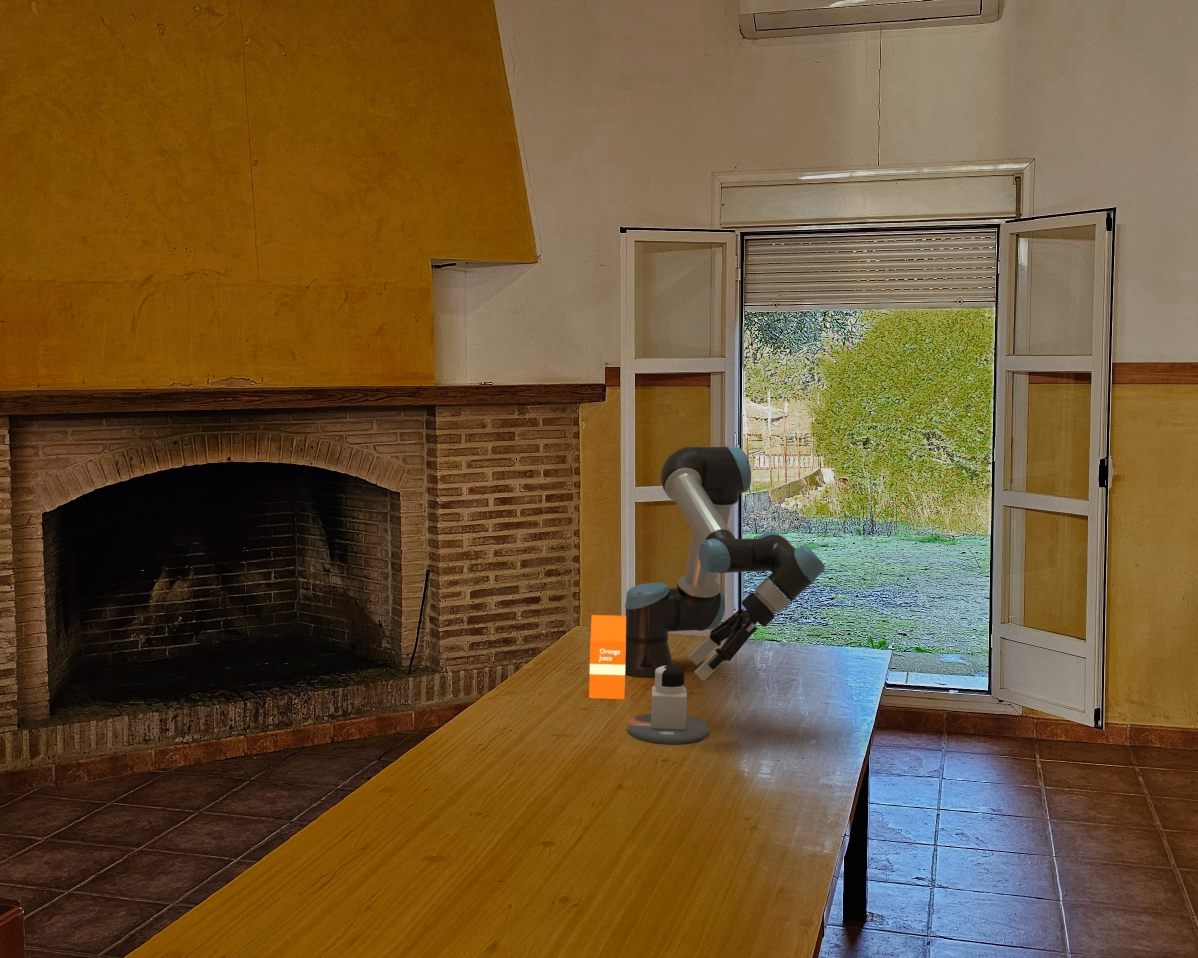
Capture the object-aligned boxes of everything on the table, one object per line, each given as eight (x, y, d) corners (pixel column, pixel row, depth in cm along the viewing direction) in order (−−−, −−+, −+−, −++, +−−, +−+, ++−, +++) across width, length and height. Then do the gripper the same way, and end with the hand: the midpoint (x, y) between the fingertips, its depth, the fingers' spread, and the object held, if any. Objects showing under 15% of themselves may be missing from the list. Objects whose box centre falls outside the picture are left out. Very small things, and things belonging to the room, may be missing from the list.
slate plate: (611, 730, 250) (611, 723, 250) (663, 714, 263) (663, 708, 263) (673, 749, 238) (673, 742, 238) (724, 732, 251) (724, 725, 251)
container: (685, 720, 254) (686, 663, 253) (686, 730, 246) (687, 672, 245) (651, 718, 254) (652, 662, 253) (650, 729, 247) (652, 671, 246)
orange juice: (624, 698, 276) (626, 619, 274) (588, 698, 276) (590, 618, 274) (624, 690, 283) (626, 612, 282) (589, 689, 284) (591, 611, 282)
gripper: (786, 627, 235) (713, 696, 236) (767, 603, 260) (701, 666, 261) (762, 602, 235) (689, 671, 236) (745, 580, 260) (679, 643, 261)
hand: (695, 668), depth 249 cm, fingers open, 13 cm apart
